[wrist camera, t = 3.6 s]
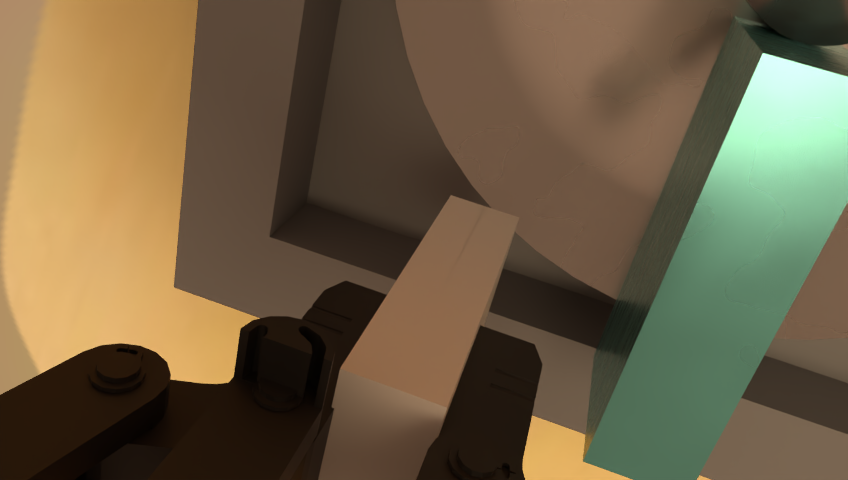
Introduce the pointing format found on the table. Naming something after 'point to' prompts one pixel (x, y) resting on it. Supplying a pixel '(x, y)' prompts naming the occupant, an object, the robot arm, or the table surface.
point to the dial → (659, 185)
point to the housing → (413, 218)
